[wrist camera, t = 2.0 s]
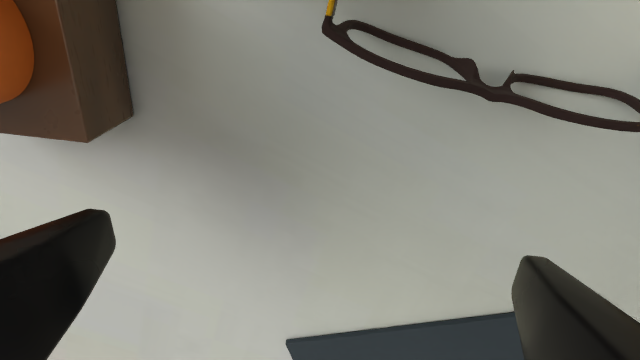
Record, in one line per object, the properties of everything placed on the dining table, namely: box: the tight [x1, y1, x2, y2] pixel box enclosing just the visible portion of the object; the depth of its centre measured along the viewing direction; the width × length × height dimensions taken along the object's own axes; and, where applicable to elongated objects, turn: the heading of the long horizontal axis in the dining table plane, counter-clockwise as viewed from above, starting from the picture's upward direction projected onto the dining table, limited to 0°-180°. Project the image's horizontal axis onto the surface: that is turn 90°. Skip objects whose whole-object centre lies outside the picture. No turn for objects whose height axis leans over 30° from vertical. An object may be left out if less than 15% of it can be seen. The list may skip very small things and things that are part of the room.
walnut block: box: [0, 0, 133, 143], centre depth 19 cm, size 9×9×4 cm
